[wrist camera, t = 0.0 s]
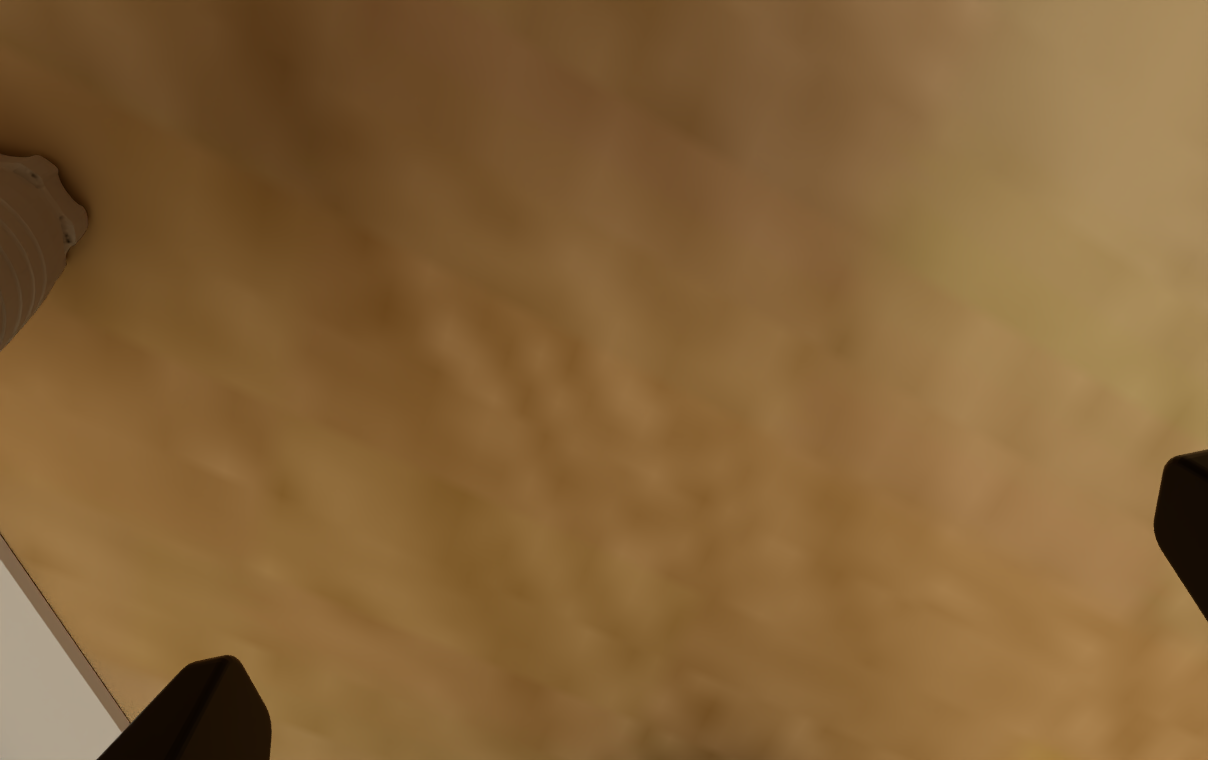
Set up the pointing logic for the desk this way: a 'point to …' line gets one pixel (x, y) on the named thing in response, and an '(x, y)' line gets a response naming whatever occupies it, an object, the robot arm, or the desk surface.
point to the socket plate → (46, 680)
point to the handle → (32, 237)
